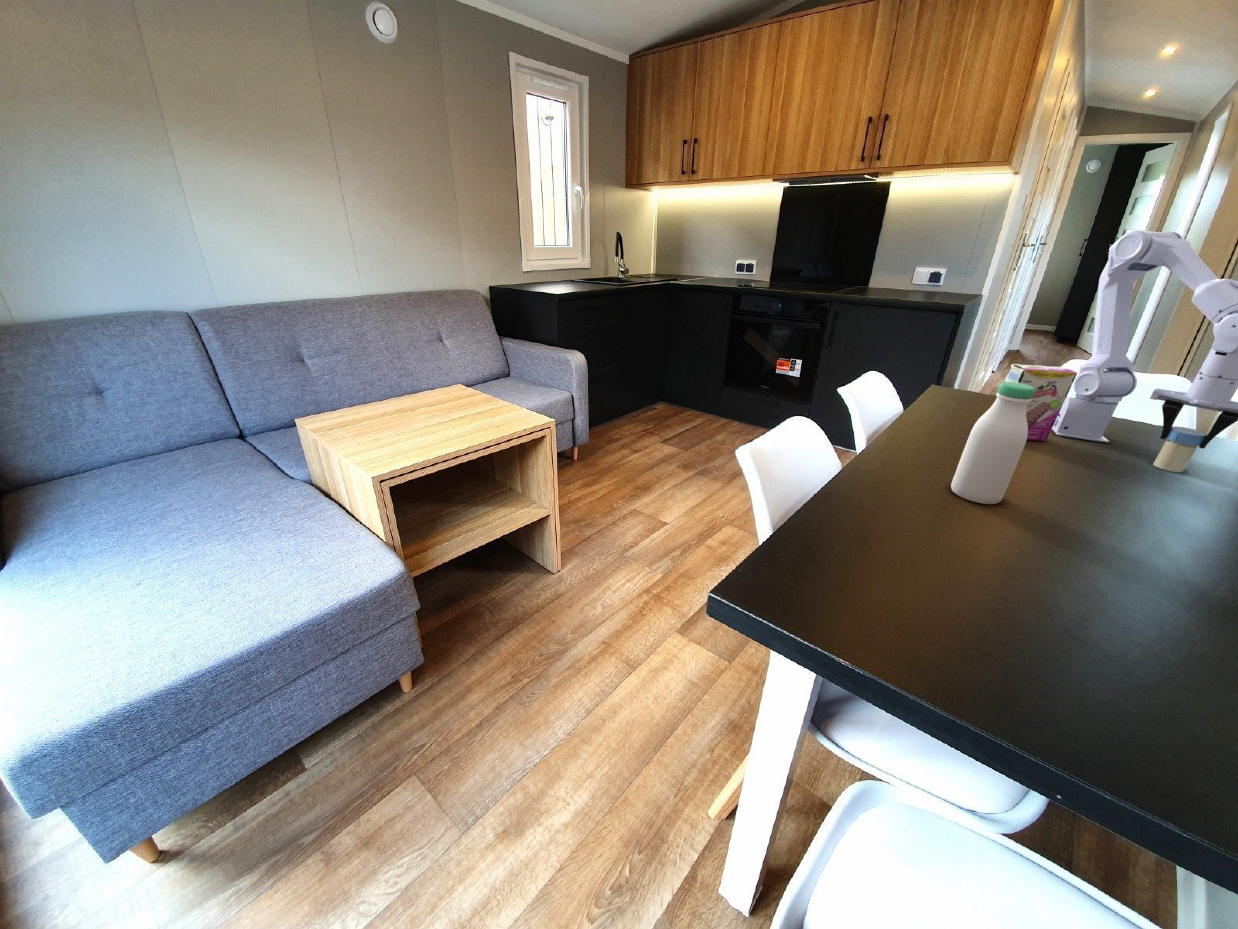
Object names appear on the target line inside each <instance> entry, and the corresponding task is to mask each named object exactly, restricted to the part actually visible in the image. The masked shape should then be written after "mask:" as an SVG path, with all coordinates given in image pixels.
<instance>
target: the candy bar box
mask: <svg viewBox="0 0 1238 929" xmlns="http://www.w3.org/2000/svg"><path fill="white" fill-rule="evenodd" d="M1077 376H1078V372H1077V371H1075V370H1072V369H1069V368H1066V367H1063V366H1052V365H1051V366H1049V365H1033V364H1018V363H1011V364H1010V366H1009V368H1008V372H1007V374H1006V376H1005V379H1004V382H1015V383H1021V384H1026V385H1029V386H1032V387H1034V388H1035V392H1034V395H1033V397H1032V398H1031V401H1030V402H1028V404H1027V408H1026V419H1027V426H1028V435H1027V440H1026V441H1031V442H1033V441H1034V442H1046V441H1047V440H1048V437H1049V435H1050V433H1051V431H1052V427H1053V425H1054V423H1055V420H1056V418H1057V416H1058V414H1059V412H1060V409H1061V407H1062V405H1063V403H1064V401H1065V399H1066V397H1067V396H1068V395H1069V392H1070V391H1071V388H1072V386H1073V385H1074V381H1075V379H1076V378H1077Z"/></svg>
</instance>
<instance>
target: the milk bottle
mask: <svg viewBox="0 0 1238 929" xmlns="http://www.w3.org/2000/svg"><path fill="white" fill-rule="evenodd" d="M1034 392H1035V388H1034V387H1032V386H1029V385H1026V384H1021V383H1015V382H1005V381H1003V382H1001V383H1000V384H999V386H998V388H997V393H995V396H996V399H995V401H994V402H993V403H992V405H991V406H990V407H989V408H988V409H987V410H986V411H985V412H984V413H983V414H982V415H981V416H980V417H979V418H978V419H977V421H976V422H975V423H974V425H973V427H972V429H971V430H970V433H969V435H968V438H967V440H966V443H965V445H964V448H963V450H962V453H961V456H960V459H959V461H958V464H957V467H956V469H955V471H954V475H953V477H952V481H951V484H950V488H951V491H952V492H953V493H954V494H955V495H957V496H958V497H960V498H962V499H965V500H967V501H971V502H974V503H979V504H983V505H984V504H985V505H995V504H998V503H1000V502H1002V501H1003V499H1004V496H1005V494H1006V492H1007V489H1008V488H1009V485H1010V482H1011V480H1012V477H1013V475H1014V473H1015V470H1016V468H1017V466H1018V463H1019V461H1020V458H1021V456H1022V454H1023V451H1024V448H1025V446H1026V443H1027V441H1028V440H1027V435H1028V426H1027V419H1026V408H1027V404H1028V402H1030V401H1031V398H1032V397H1033V395H1034Z"/></svg>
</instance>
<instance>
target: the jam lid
mask: <svg viewBox="0 0 1238 929" xmlns="http://www.w3.org/2000/svg"><path fill="white" fill-rule="evenodd" d="M1207 435H1208V433H1206V432H1205V431H1201V430H1198V429H1194V428H1191V427H1185V426H1172V427H1171V428H1170V430H1169V432H1168V434H1167V436H1166V439H1165V440H1167V439H1168V440H1170V441H1173V442H1176V443H1180V444H1184V445H1190V446H1198V447H1199V446H1200V444H1201V443H1202V442H1203V440H1204V439H1205V438H1206V436H1207Z"/></svg>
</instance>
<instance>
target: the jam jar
mask: <svg viewBox="0 0 1238 929" xmlns="http://www.w3.org/2000/svg"><path fill="white" fill-rule="evenodd" d="M1198 448H1199V446H1190V445H1184V444H1180V443H1176V442H1173V441H1170V440H1168V439H1165V442H1164V443H1163V445H1162V447H1161V449H1160V451H1159V452H1158V454H1157V456H1156V458H1155V460H1154V461H1153V463H1152V465H1153V467H1156V468H1157V469H1160V470H1164V471H1167V472H1173V473H1183V472H1185V469H1186V468H1187V465H1188V464H1189V463H1190V461H1191V459H1192V457H1193V456H1194V454H1195V452H1196V451H1197V450H1198Z"/></svg>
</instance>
